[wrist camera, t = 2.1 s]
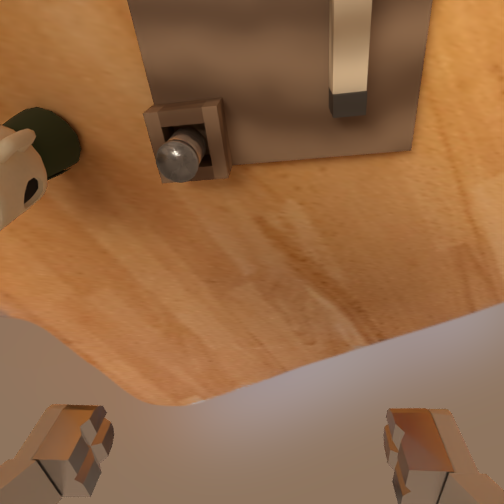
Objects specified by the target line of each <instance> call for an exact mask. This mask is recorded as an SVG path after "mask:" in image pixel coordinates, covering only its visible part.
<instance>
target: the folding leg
mask: <svg viewBox="0 0 504 504" xmlns="http://www.w3.org/2000/svg"><path fill="white" fill-rule="evenodd" d="M371 12H372V0H329V109H330V112H331V114H332V117H333V118H340V117H351V116H361V115H366V108H367V91H366V90H367V75H368V59H369V43H370V27H371Z"/></svg>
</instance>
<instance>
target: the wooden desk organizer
mask: <svg viewBox="0 0 504 504" xmlns="http://www.w3.org/2000/svg"><path fill="white" fill-rule="evenodd" d="M127 1H128V5H129V9H130V13H131V16H132V20H133V24H134V28H135V32H136V36H137V40H138V44H139V48H140V51H141V55H142V59H143V63H144V67H145V71H146V75H147V79H148V83H149V86H150V90H151V94H152V98H153V102H154V105H153V106H152V107H150V108H149V109H148V110H147V111H145V112H144V113H143V116H144V120H145V123H146V127H147V130H148V134H149V138H150V141H151V145H152V148H153V152H154V156H155V159H156V154H157V151H158V149H159V148H160V147H161V146H162V145H163V144H164V143H165V142H167V141H168V140H169V139H170V137H171V136H172V135H173V134H174V133H175V132H176V131H177V130H178V129H180V128H183V127H190V128H193V129H196V130H197V131H199V132H200V133H201V134H202V136H203V137H204V139H205V141H206V152H205V155H204V156H203V158H202V160H201V162H200V164H199V168H198V171H197V173H196V174H195V176H194V177H193V178H192V179H190V180H189V181H198V180H211V179H223V178H228V177H229V174H230V171H231V168H232V165H241V164H253V163H265V162H277V161H289V160H301V159H313V158H325V157H338V156H350V155H362V154H374V153H386V152H398V151H410V150H411V148H412V141H413V134H414V127H415V120H416V113H417V105H418V98H419V91H420V84H421V77H422V70H423V63H424V56H425V49H426V42H427V35H428V28H429V21H430V14H431V7H432V0H372V12H371V27H370V43H369V59H368V75H367V90H366V91H367V108H366V115H361V116H351V117H340V118H333V117H332V114H331V112H330V109H329V0H127ZM158 170H159V169H158ZM159 174H160V177H161V181H162V183H172V182H174V181H171V180H169V179H167V178H166V177H164V176H163V175H162V174H161V172H160V171H159Z"/></svg>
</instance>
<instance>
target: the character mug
mask: <svg viewBox="0 0 504 504" xmlns="http://www.w3.org/2000/svg"><path fill="white" fill-rule="evenodd" d="M80 152H81V147H80V144H79V140H78V136H77V134H76V133H75V132H74V131H73V129H72V128H71V127H70V126H69V125H68V124H67V122H66V121H64V120H63V119H61V118H60V117H59V116H57V115H56V114H55V113H53V112H52V111H48V110H45V109H42V108H39V107H35V108H30V109H25V110H23V111H22V112H20V113H18V114H17V115H15V116H14V117H12V118H11V119H10V120H8V121H7V122H6V123H4V124H3V125H0V230H2V229H3V228H4V227H6V226H7V225H8V224H9V223H11V222H12V221H13V220H14V219H16V218H17V217H18V216H19V215H21V214H22V213H24V212H25V211H26V210H28V209H29V208H30V207H31V206H32V205H33V204H34V203H36V202H37V201H38V200H39V199H41V197H42V196H43V195H44V193H45V192H46V189H47V180H49V179H51V178H54V177H56V176H58V175H60V174H62V173H64V172H66V171H67V170H64V169H66V168H68V167H70V166H72V165H73V164H75V163H77V162H78V161H79V157H80ZM68 170H69V169H68Z"/></svg>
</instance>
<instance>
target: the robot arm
mask: <svg viewBox="0 0 504 504" xmlns="http://www.w3.org/2000/svg"><path fill="white" fill-rule="evenodd" d="M106 413H107V412H106V410H105V409H104V407H103V406H93V405H91V406H90V405H60V404H59V405H58V404H55V405H54V404H52V405H51V406H50V407H48V408H47V409H46V410H45V412H44V413H43V415H42V416H41V418H40V419H39V421H38V422H37V424H36V426H35V427H34V428H33V430H32V432H31V433H30V435H29V436H28V438H27V439H26V441H25V442H24V444H23V445H22V447H21V449H20V450H19V452H18V453H17V454H16V456H15V458H14V459H11V460H10V459H9V460H7V461H6V462H4V463H3V464H2V465H0V504H57V503H58V502H59V501H60V500H61V499H62V498H61V497H91V495H92V493H93V490H94V488H95V486H96V483H97V481H98V479H99V476H100V474H101V468H100V463H101V462H102V461H103V460H104V459H105V458H107V457H108V455H109V452H110V450H111V448H112V444H113V439H114V429H113V426H112V423H111V422H110V421H108V420H107V419H106V418H104V417H105V415H106ZM386 418H387V421H388V425H386V426H385V428H384V448H385V454H386V458H387V462H388V464H389V466H390V467H391V468H392V469H393V470H394V476H393V481H392V482H393V486H394V490H395V494H396V498H397V501H398V504H504V490H503V489H502V488H501V487H500V486H499V485H498V484H496V483H495V482H494V481H493V480H492V479H491V478H490V477H489V476H488V475H487V474H480V473H479V471H478V469H477V467H476V465H475V463H474V461H473V459H472V456H471V454H470V452H469V450H468V448H467V446H466V444H465V441H464V439H463V437H462V435H461V433H460V431H459V428H458V426H457V424H456V422H455V420H454V417H453V416H452V413H451V412H450V411H449V410H447V409H425V408H422V409H421V408H413V409H412V408H407V409H405V408H404V409H402V408H401V409H388V410H387V415H386Z"/></svg>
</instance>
